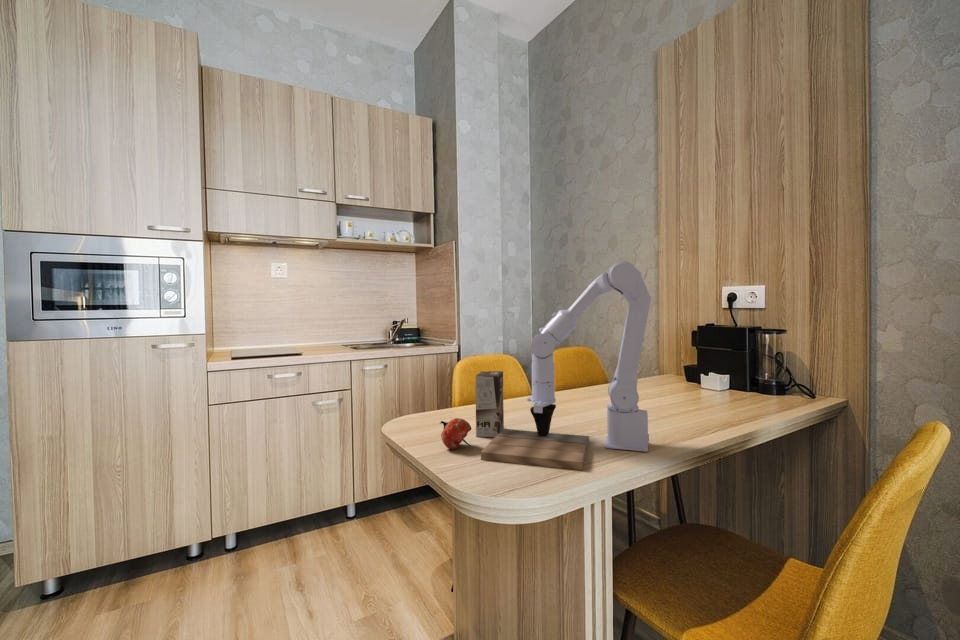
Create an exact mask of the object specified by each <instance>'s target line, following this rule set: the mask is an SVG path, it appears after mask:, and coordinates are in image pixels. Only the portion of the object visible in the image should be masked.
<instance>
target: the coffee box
mask: <svg viewBox="0 0 960 640" xmlns="http://www.w3.org/2000/svg"><path fill="white" fill-rule="evenodd" d="M474 378H475V436H476V437H480V438H482V437H483V438H493V439H494V438H495V437H496V436H497V435H498V434H499V433H500V432H501V431H502V430H504V429H505V426H504V422H505V421H504V418H505V417H504V415H505V413H504V371H503V370H502V371H501V370H500V371H499V370H493V371H492V370H491V371H484V370H483V371H480V372H479V373H478V374H476V375H475V377H474Z"/></svg>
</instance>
